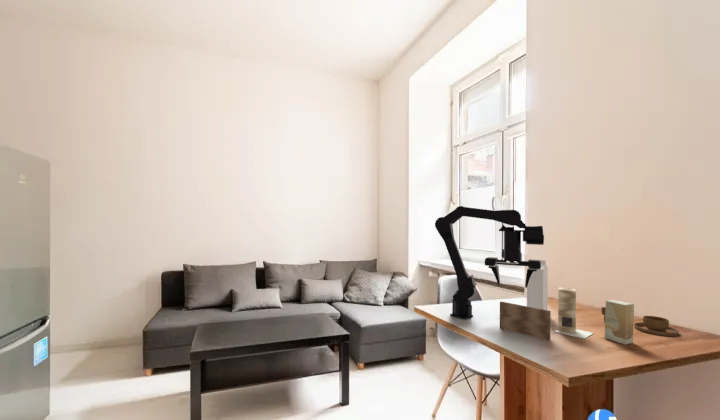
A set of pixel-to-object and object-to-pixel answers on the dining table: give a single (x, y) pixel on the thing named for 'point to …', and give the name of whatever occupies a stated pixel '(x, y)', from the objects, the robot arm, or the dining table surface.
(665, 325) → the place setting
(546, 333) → the screen
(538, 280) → the milk
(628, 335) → the skincare box
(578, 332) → the mat
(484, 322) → the dining table surface
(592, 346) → the dining table surface
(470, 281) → the robot arm
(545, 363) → the dining table surface
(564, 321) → the wooden block
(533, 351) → the dining table surface
